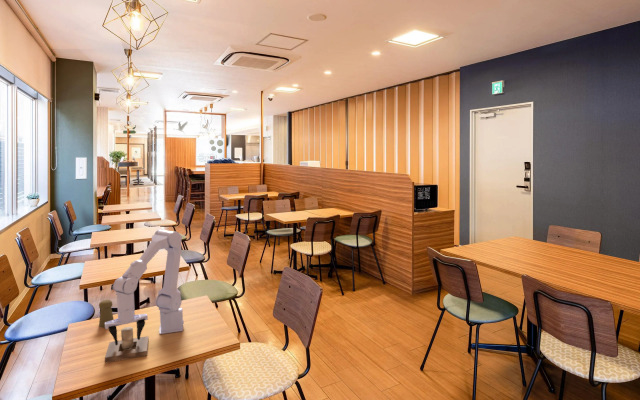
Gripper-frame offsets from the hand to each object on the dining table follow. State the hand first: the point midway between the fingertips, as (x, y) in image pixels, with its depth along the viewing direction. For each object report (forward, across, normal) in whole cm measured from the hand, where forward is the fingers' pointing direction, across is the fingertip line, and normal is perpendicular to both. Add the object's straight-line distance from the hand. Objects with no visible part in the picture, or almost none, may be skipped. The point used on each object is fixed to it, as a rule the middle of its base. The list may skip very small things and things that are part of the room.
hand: (127, 341), depth 143 cm
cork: (+4, +4, -30) cm, 30 cm away
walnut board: (+4, 0, 0) cm, 4 cm away
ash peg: (+4, 0, 0) cm, 4 cm away
